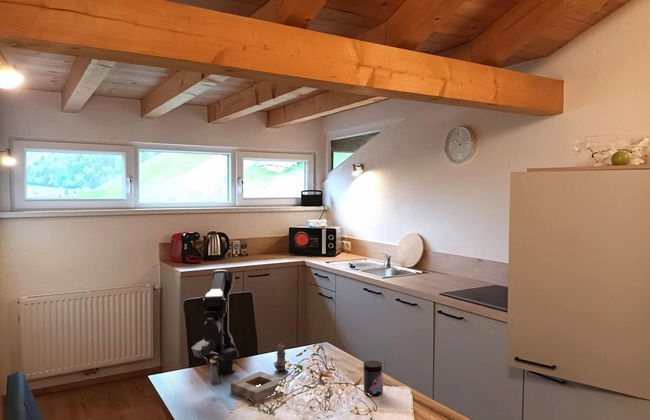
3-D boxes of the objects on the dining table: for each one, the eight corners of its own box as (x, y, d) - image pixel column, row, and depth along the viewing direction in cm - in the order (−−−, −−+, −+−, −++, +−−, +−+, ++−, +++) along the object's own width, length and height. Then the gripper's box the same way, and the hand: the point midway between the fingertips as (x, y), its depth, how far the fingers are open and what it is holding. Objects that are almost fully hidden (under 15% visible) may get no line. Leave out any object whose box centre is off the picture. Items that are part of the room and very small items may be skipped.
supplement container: (365, 397, 164) (364, 367, 164) (362, 389, 171) (361, 360, 171) (384, 396, 165) (384, 366, 164) (380, 388, 171) (380, 360, 171)
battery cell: (208, 383, 169) (207, 358, 169) (217, 380, 172) (216, 355, 172) (214, 386, 166) (214, 360, 166) (224, 382, 169) (223, 357, 169)
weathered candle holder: (286, 375, 186) (285, 344, 186) (272, 374, 187) (271, 344, 187) (290, 369, 192) (290, 340, 191) (276, 369, 193) (275, 339, 192)
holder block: (230, 392, 170) (230, 382, 170) (260, 380, 181) (260, 371, 181) (257, 403, 161) (256, 392, 161) (286, 389, 172) (286, 380, 172)
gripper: (179, 331, 168) (181, 375, 169) (211, 341, 156) (213, 388, 157) (206, 324, 177) (207, 366, 177) (238, 333, 165) (239, 378, 165)
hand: (215, 374), depth 169 cm, fingers closed on battery cell, 4 cm apart
